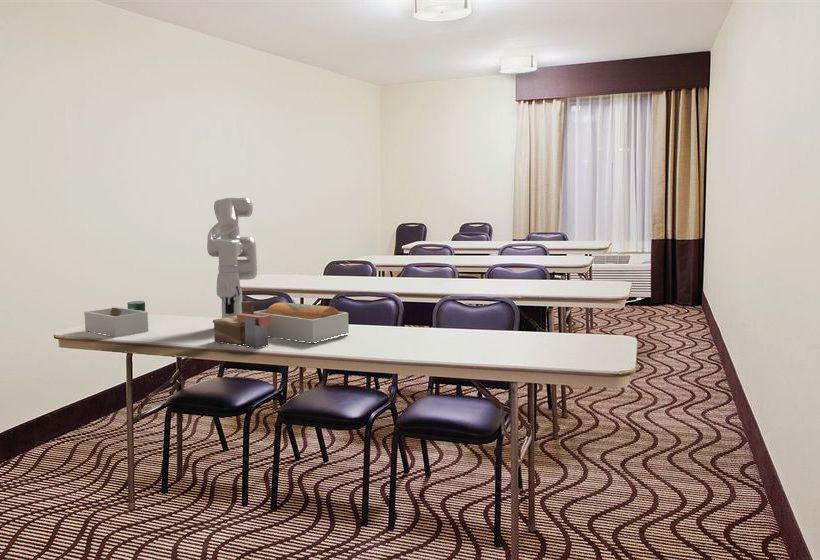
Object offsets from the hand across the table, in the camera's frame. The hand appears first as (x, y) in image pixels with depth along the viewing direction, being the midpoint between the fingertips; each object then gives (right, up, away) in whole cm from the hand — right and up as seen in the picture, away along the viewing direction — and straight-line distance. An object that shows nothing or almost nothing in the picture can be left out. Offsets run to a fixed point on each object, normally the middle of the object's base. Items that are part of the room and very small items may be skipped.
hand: (229, 313), depth 283 cm
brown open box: (+3, -12, +4) cm, 13 cm away
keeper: (+13, -13, -7) cm, 20 cm away
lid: (+3, -4, +3) cm, 6 cm away
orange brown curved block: (+29, -11, +16) cm, 34 cm away
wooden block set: (-57, -10, +26) cm, 64 cm away
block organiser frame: (-58, -9, +24) cm, 63 cm away
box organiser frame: (+27, -10, +16) cm, 33 cm away
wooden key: (+11, -4, -7) cm, 14 cm away
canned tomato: (-55, -8, +40) cm, 68 cm away
